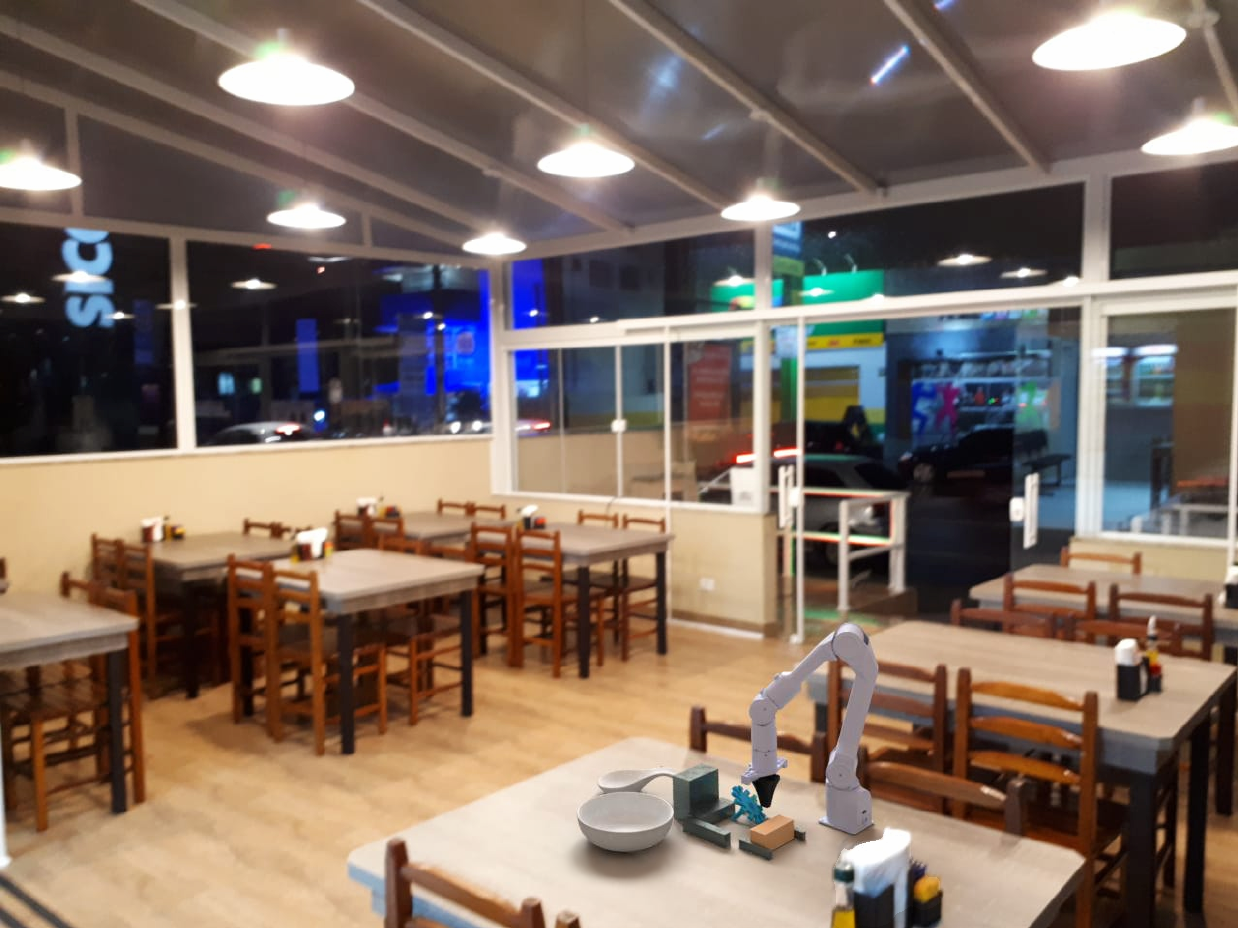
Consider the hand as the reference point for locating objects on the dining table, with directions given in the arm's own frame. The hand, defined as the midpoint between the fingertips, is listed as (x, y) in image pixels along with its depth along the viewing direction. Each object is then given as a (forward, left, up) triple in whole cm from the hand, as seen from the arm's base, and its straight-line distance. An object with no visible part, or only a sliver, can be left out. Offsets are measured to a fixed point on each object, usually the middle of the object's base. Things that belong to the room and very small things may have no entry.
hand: (765, 806), depth 217 cm
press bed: (0, +12, -2) cm, 12 cm away
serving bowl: (+14, +31, -2) cm, 34 cm away
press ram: (-10, +11, -2) cm, 15 cm away
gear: (+1, +5, -2) cm, 5 cm away
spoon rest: (+28, +11, -2) cm, 30 cm away
